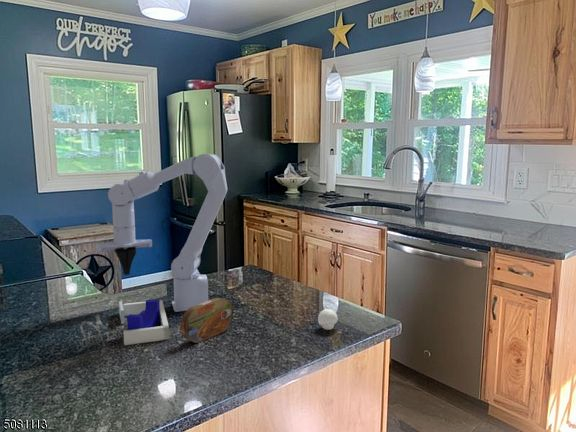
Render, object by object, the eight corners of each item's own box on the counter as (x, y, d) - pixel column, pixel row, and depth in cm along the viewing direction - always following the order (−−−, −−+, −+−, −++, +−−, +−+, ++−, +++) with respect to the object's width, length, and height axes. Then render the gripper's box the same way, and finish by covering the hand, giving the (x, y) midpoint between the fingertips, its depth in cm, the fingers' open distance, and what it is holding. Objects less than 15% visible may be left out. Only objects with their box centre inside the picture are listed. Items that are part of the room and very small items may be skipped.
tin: (187, 348, 98) (186, 312, 97) (178, 344, 100) (177, 309, 99) (234, 327, 110) (234, 295, 109) (225, 324, 112) (225, 292, 111)
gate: (122, 312, 119) (121, 298, 119) (125, 324, 112) (124, 309, 111) (119, 313, 119) (118, 299, 118) (121, 324, 111) (120, 309, 111)
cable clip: (143, 321, 114) (142, 299, 113) (160, 322, 114) (159, 300, 113) (122, 340, 102) (120, 316, 101) (140, 341, 102) (139, 317, 101)
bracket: (162, 309, 122) (162, 299, 121) (169, 339, 103) (168, 327, 102) (124, 314, 118) (123, 303, 118) (124, 345, 99) (123, 332, 99)
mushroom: (323, 333, 107) (324, 314, 106) (314, 326, 111) (314, 307, 110) (341, 330, 109) (341, 311, 108) (331, 323, 113) (331, 305, 112)
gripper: (97, 231, 115) (100, 281, 117) (153, 226, 122) (155, 273, 124) (94, 227, 121) (97, 274, 123) (148, 223, 128) (150, 268, 130)
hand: (126, 273), depth 124 cm, fingers closed
